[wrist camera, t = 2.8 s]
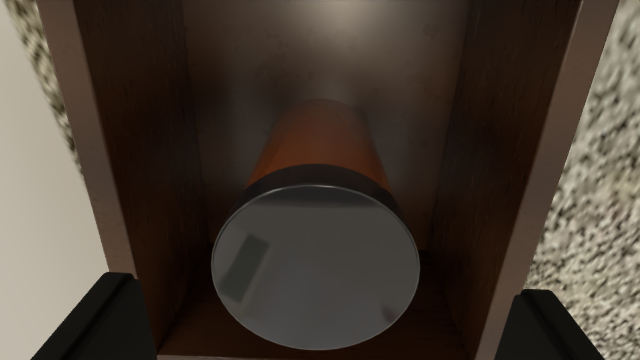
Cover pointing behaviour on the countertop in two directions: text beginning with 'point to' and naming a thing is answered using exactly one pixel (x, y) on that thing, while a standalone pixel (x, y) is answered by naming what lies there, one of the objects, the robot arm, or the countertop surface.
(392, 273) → the jar
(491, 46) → the chest
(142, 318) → the robot arm
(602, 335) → the countertop surface
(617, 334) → the countertop surface
